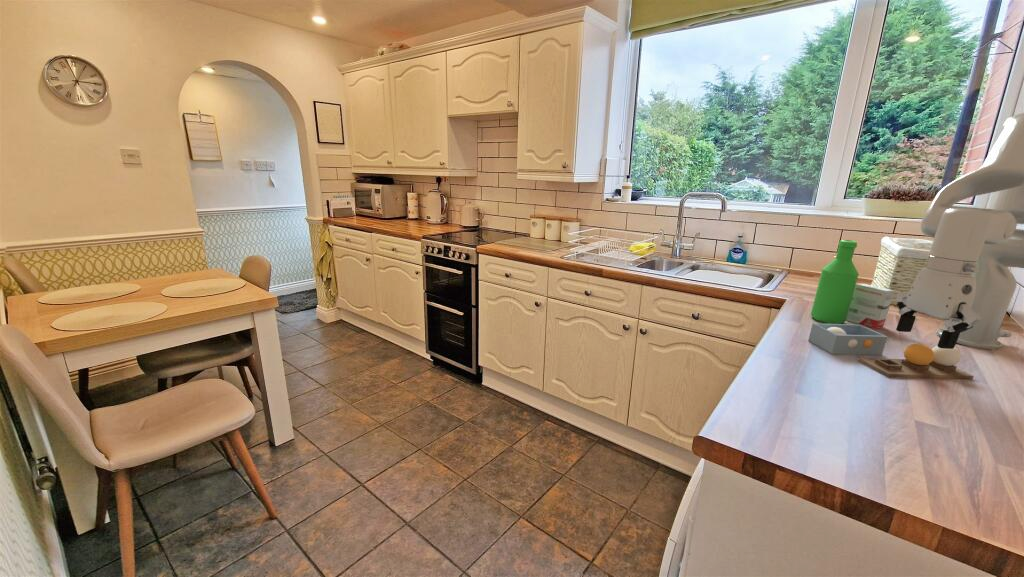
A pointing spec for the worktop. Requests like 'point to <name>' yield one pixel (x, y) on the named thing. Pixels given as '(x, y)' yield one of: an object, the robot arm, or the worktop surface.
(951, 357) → the cream ball on rack
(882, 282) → the basket
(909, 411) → the worktop surface
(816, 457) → the worktop surface
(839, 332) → the cream ball in tray
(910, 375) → the walnut rack
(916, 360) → the orange ball
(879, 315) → the ink box
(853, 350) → the pale blue tray
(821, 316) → the bottle
